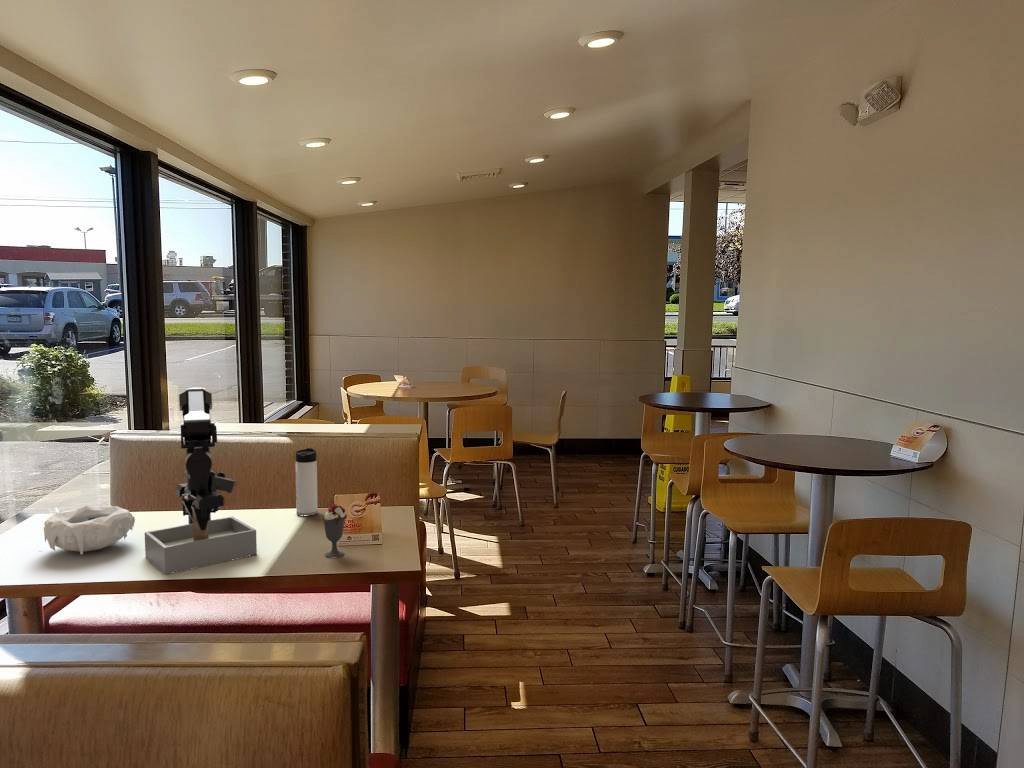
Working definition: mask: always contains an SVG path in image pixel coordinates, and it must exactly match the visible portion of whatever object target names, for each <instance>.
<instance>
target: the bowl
mask: <svg viewBox="0 0 1024 768" xmlns="http://www.w3.org/2000/svg"><path fill="white" fill-rule="evenodd" d="M135 521H136V519H135V516H133V514H132V513H131V512H130V510H128V509H125V508H122V507H119V506H117V505H115V506H114V505H109V504H103V505H99V506H97V505H96V506H94V505H93V506H92V505H83V506H79V507H76V508H74V509H70V510H68V511H67V510H66V511H60V512H55V513H54V514H52V515H51V516H50V517H49V518H48V519H45V521H44V524H43V525H44V526H43V535H44V543H46V542H47V543H48V545H49V548H50V549H51V550H53V551H54V552H56V547H57V548H59V549H62V550H64V551H71V552H79V554H80V555H81V556H82V555H83V554H84V552H91V551H92V552H93V551H98V550H102V549H105V548H107V547H110V546H112V545H114V544H116V543H117V542H119V541H120V540H122V538H123V540H125V539H126V538H127V537H128V532H129V531H130V530H131V531H133V529H134V527H135Z"/></svg>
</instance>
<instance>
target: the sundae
mask: <svg viewBox="0 0 1024 768" xmlns="http://www.w3.org/2000/svg"><path fill="white" fill-rule="evenodd" d="M329 501H330V503H329V507H328V508H327V511H326V512H325V514H324V515H322V516H320V519H321V520H322V521H323V524H324V525H323V526H324V531H325V532H324V533H325V537H326V538H327V540H328V541H330V542H331V549H330V550H329V551H327V552H326V553H325V554H324V556H325V555H326V556H327V557H338V558H341V557H340V556H342V557H343V556H345V552H343V551H339V550H338V546H337V545H338V544H337V543H338V542H339V541H340V540H341V539H342V537H343V533H344V525H345V521H346V519H347V518H348V514H347V513H345V512H346V509H345V508H344V507H342V506H341V505H338V504H336V503H334V502H333V499H330V500H329ZM331 504H332V505H331ZM327 557H326V558H327Z"/></svg>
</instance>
